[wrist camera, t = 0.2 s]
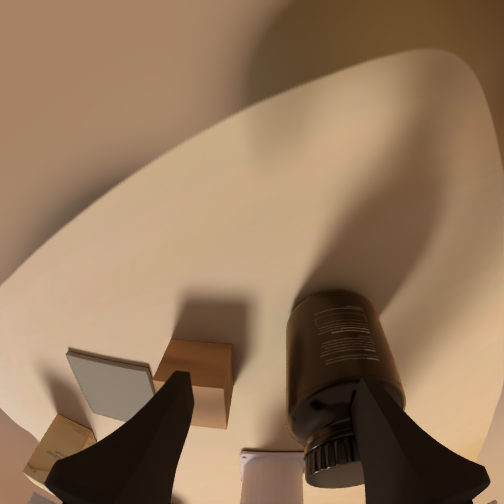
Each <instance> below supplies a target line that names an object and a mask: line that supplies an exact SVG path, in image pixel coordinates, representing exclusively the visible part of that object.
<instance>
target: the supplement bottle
mask: <svg viewBox="0 0 504 504" xmlns="http://www.w3.org/2000/svg"><path fill="white" fill-rule="evenodd" d="M370 376H375V377H376V379H377V380H378V381H379V382H380V383H381V385H382V386H383V387H384V388H385V389H386V391H387V392H388V393H389V394H390V396H391V397H392V398H393V399H394V400H395V401H396V403H397V404H398V405H399V406H400V407H401V408H402V409H403V411H405V406H406V397H405V393H404V390H403V386H402V383H401V380H400V377H399V374H398V371H397V368H396V365H395V362H394V359H393V356H392V353H391V350H390V348H389V345H388V342H387V339H386V337H385V334H384V331H383V328H382V326H381V323H380V321H379V318H378V315H377V313H376V311H375V309H374V307H373V305H372V304H371V302H370V301H369V300H368V299H366V298H365V297H364V296H362V295H361V294H359V293H356V292H354V291H350V290H344V289H332V290H326V291H322V292H319V293H316V294H314V295H312V296H310V297H308V298H306V299H305V300H304V301H302V302H301V303H300V304H299V305H298V306H297V307H296V308H295V309H294V310H293V312H292V313H291V315H290V317H289V320H288V323H287V329H286V424H287V428H288V430H289V432H290V434H291V435H292V436H293V438H294V439H295V440H296V441H297V442H299V443H300V444H302V445H303V446H305V449H304V461H305V479H306V481H307V483H308V484H309V485H312V486H314V487H318V488H345V487H352V486H358V485H362V484H365V483H364V473H363V468H362V463H361V459H360V455H359V451H358V446H357V442H356V438H355V434H354V430H353V425H352V416H351V405H352V402H353V399H354V397H355V394H356V391H357V388H358V386H359V383H360V380H361V377H370Z"/></svg>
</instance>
